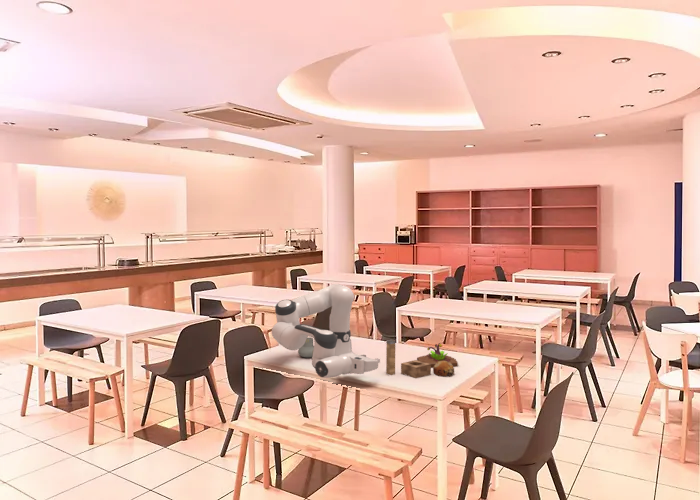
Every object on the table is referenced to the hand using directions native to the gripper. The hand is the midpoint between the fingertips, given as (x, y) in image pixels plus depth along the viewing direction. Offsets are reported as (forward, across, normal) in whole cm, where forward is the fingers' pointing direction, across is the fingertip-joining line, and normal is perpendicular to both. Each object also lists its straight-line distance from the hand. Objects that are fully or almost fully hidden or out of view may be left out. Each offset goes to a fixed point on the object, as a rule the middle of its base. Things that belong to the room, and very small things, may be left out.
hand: (372, 358), depth 240 cm
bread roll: (+32, +16, -10) cm, 37 cm away
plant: (+45, +1, -10) cm, 46 cm away
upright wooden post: (+12, 0, -9) cm, 15 cm away
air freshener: (0, -52, -10) cm, 53 cm away
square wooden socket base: (+21, +8, -9) cm, 24 cm away
